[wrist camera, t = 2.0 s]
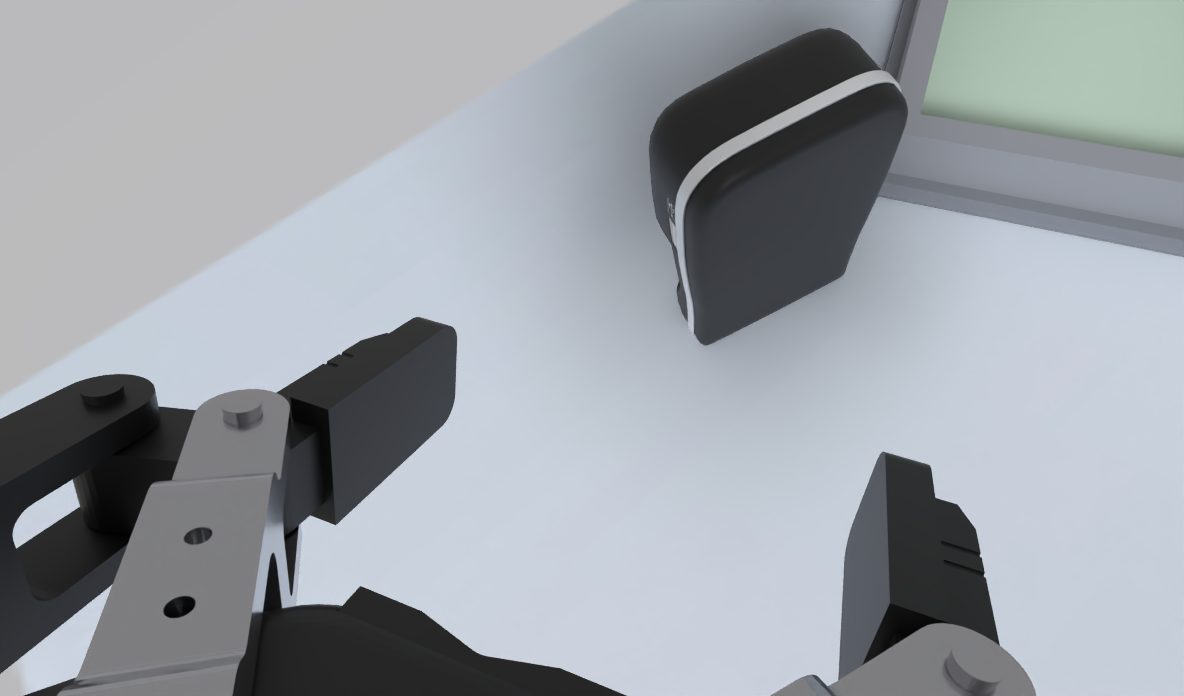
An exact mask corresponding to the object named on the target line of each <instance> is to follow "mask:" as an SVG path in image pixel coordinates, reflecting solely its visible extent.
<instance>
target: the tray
mask: <svg viewBox="0 0 1184 696" xmlns="http://www.w3.org/2000/svg"><path fill="white" fill-rule="evenodd" d="M885 71H887V72H888V73H889V74H890V75H891V76H892V77H893V78H894V79H895V80H896V81H897V83H898V84H899V85H900V87H901V92H902V94H903V96H904V98H905V99H906V103H907V106H908V117H907V121H906V126H905V129H904V131H903V134H902V137H901V140H900V142H899V145H898V148H897V150H896V153H895V156H894V158H893V161H892V163H891V166H890V168H889V171H888V173H887V175H886V178H885V180H884V183H883V185H882V187H881V189H880V192H879V194H878V196H881V197H886V198H891V199H896V200H901V201H906V202H911V203H916V204H921V205H926V206H931V207H936V208H941V209H946V210H951V211H956V212H961V213H966V214H971V215H976V216H981V217H986V218H991V219H996V220H1001V221H1006V222H1011V223H1016V224H1021V225H1026V226H1031V227H1036V228H1041V229H1046V230H1052V231H1057V232H1062V233H1067V234H1072V235H1077V236H1082V237H1087V238H1092V239H1097V240H1102V241H1107V242H1112V243H1117V244H1122V245H1127V246H1132V247H1137V248H1142V249H1147V250H1152V251H1157V252H1162V253H1167V254H1172V255H1177V256H1182V257H1184V0H904V3H903V7H902V10H901V14H900V18H899V21H898V25H897V29H896V32H895V36H894V40H893V44H892V47H891V51H890V55H889V58H888V62H887V66H886V69H885Z"/></svg>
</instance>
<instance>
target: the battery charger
mask: <svg viewBox="0 0 1184 696" xmlns="http://www.w3.org/2000/svg"><path fill="white" fill-rule="evenodd" d="M907 117H908V106H907V103H906V99H905V98H904V96H903V94H902V92H901V87H900V85H899V84H898V83H897V81H896V80H895V79H894V78H893V77H892V76H891V75H890V74H889V73H888V72H887V71H882V70H881V69H880V68H879V67H878V66H877V64H876V63H875V62H874V61H873V60H872V59H871V58H870V56H869V55H868V54H867V53H866V52H865V51H864V50H863V48H862V47H861V46H860V45H859V44H858V43H857V42H856V41H855V40H853V39H852V38H851V37H850V36H849V35H847V34H845V33H843V32H841V31H839V30H835V29H831V28H827V29H818V30H815V31H811V32H808V33H806V34H803V35H801V36H798V37H796V38H794V39H792V40H790V41H788V42H786V43H784V44H782V45H780V46H778V47H776V48H774V49H772V50H769V51H767V52H765V53H763V54H761V55H759V56H757V57H755V58H753V59H751V60H749V61H747V62H745V63H743V64H741V65H739V66H737V67H735V68H733V69H732V70H730V71H728V72H726V73H724V74H722V75H720V76H718V77H716V78H714V79H713V80H711V81H709V82H707V83H705V84H703V85H701V86H699V87H697V88H695V89H694V90H692V91H690V92H688V93H686V94H685V95H683V96H681V97H680V98H678V99H676V100H675V101H674V102H673V103H672V104H670V105H669V106H668V107H667V108H666V109H665V110H664V111H663V112H662V114H661V115H660V116H659V118H658V119H657V122H656V124H655V126H654V129H653V131H652V133H651V136H650V145H649V157H650V172H651V183H652V193H653V201H654V207H655V213H656V218H657V220H658V222H659V224H660V226H661V228H662V230H663V232H664V233H665V235H666V237H667V238H668V240H669V242H670V243H671V245H672V249H673V254H674V259H675V264H676V268H677V272H678V276H679V280H680V281H679V283H678V286H677V296H678V302H679V305H680V308H681V311H682V314H683V315H684V317H685V319H686V320H687V322H688V328H689V330H690V331H691V333H692V335H693V336H696V337H697V339H698V340H699V342H700V343H701V344H703V345H709V344H712V343H714V342H716V341H718V340H720V339H722V338H724V337H726V336H728V335H730V334H732V333H734V332H736V331H738V330H740V329H742V328H744V327H746V326H747V325H749V324H751V323H753V322H755V321H757V320H759V319H761V318H763V317H765V316H767V315H769V314H771V313H773V312H775V311H777V310H779V309H781V308H783V307H785V306H786V305H788V304H790V303H792V302H794V301H796V300H798V299H800V298H802V297H804V296H806V295H808V294H810V293H811V292H813V291H815V290H817V289H819V288H821V287H823V286H825V285H827V284H829V283H830V282H832V281H834V280H836V279H838V278H840V277H841V276H842V275H843V274H844V273H845V270H846V267H847V264H848V262H849V259H850V256H851V254H852V251H853V249H854V246H855V243H856V241H857V239H858V236H859V234H860V232H861V230H862V228H863V226H864V224H865V222H866V220H867V218H868V215H869V213H870V211H871V209H872V207H873V205H874V203H875V200H876V198H877V196H878V194H879V192H880V189H881V187H882V185H883V183H884V180H885V178H886V175H887V173H888V171H889V168H890V166H891V163H892V161H893V158H894V156H895V153H896V150H897V148H898V145H899V142H900V140H901V137H902V134H903V131H904V129H905V126H906V121H907Z"/></svg>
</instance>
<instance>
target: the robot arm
mask: <svg viewBox="0 0 1184 696" xmlns="http://www.w3.org/2000/svg"><path fill="white" fill-rule="evenodd" d="M456 355H457V335H456V331H455V329H454V328H453V327H451V326H448V325H445V324H441V323H438V322H434V321H431V320H427V319H424V318H421V317H415V318H413V319H411V320H410V321H408V322H406V323H405V324H403V325H402V326H400V327H399V328H397V329H395V330H394V331H392V332H391V333H389V334H388V333H385V334H381V335H378V336H375V337H371V338H368V339H364V340H361V341H359V342H358V343H356V344H355V345H353V346H351V347H350V348H348V349H347V350H345V351H343V352H342V355H340V354H338V355H337V356H335V357H334V358H332V359H330V360H329V361H327V364H322V365H321V366H319V367H317V368H316V369H314V370H313V371H311V372H309V373H308V374H306V375H304V376H303V377H301V378H300V379H298V380H296V381H295V382H293V383H291V384H290V385H288V386H287V387H285V388H283V389H282V390H280V391H278V392H277V393H274V392H271V391H267V390H258V389H246V390H237V391H232V392H228V393H224V394H221V395H218V396H216V397H214V398H211V399H209V400H208V401H206V402H204V403H203V404H202V405H201V406H200V407H199V408H198V409H197V410H187V409H178V408H168V407H158V402H157V397H156V392H155V388H154V385H153V384H152V383H151V382H150V381H149V380H147V379H145V378H143V377H140V376H135V375H127V374H113V375H103V376H98V377H93V378H89V379H85V380H82V381H79V382H76V383H74V384H71V385H69V386H67V387H65V388H63V389H61V390H59V391H57V392H55V393H53V394H51V395H49V396H47V397H45V398H43V399H40V400H38V401H36V402H34V403H32V404H30V405H28V406H26V407H24V408H22V409H20V410H18V411H16V412H14V413H12V414H10V415H8V416H6V417H4V418H2V419H0V674H1V672H3V671H4V670H6V669H7V668H8V667H9V666H11V665H12V664H13V663H14V662H16V661H17V660H18V659H19V658H21V657H22V656H23V655H24V654H26V653H27V652H28V651H29V650H31V649H32V648H33V647H34V646H36V645H37V644H38V643H39V642H41V641H42V640H43V639H44V638H46V637H47V636H48V635H49V634H51V633H52V632H53V631H54V630H56V629H57V628H58V627H59V626H61V625H62V624H63V623H64V622H66V621H67V620H68V619H69V618H71V617H72V616H73V615H74V614H76V613H77V612H78V611H80V610H81V609H82V608H83V607H85V606H86V605H87V604H88V603H90V602H91V601H92V600H93V599H95V598H96V597H97V596H98V595H100V594H101V593H102V592H103V591H105V590H106V589H107V588H108V587H110V586H111V585H112V584H113V585H112V588H111V590H110V593H109V596H108V598H107V601H106V604H105V606H104V609H103V612H102V614H101V617H100V619H99V622H98V625H97V627H96V630H95V633H94V635H93V638H92V641H91V643H90V646H89V649H88V651H87V654H86V657H85V659H84V662H83V665H82V667H81V670H80V672H79V674H78V676H77V677H76V678H73V679H71V680H68V681H65V682H62V683H59V684H56V685H53V686H50V687H47V688H45V689H42V690H39V691H36V692H33V693H30V694H27V695H24V696H626V695H624V694H621V693H619V692H616V691H614V690H611V689H609V688H607V687H604V686H602V685H599V684H597V683H594V682H592V681H590V680H587V679H585V678H582V677H580V676H577V675H575V674H573V673H570V672H568V671H565V670H563V669H560V668H555V667H549V666H542V665H536V664H530V663H524V662H518V661H512V660H506V659H500V658H493V657H487V656H483V655H480V654H478V653H476V652H475V651H473V650H472V649H470V648H469V647H468V646H466V645H465V644H464V643H462V642H461V641H460V640H459V639H457V638H456V637H455V636H453V635H452V634H451V633H449V632H448V631H447V630H445V629H444V628H443V627H442V626H440V625H439V624H438V623H436V622H435V621H434V620H432V619H431V618H430V617H428V616H427V615H426V614H425V613H423V612H422V611H420V610H417V609H415V608H412V607H410V606H407V605H405V604H403V603H400V602H398V601H395V600H393V599H390V598H388V597H386V596H383V595H381V594H378V593H376V592H373V591H371V590H369V589H366V588H364V587H361V586H360V587H359V588H358V589H357V590H356V592H355V593H354V594H353V595H352V596H351V597H350V598H349V599H348V600H347V601H346V603H345V604H344V605H343V606H339V605H323V604H315V605H300V606H296V602H297V590H298V578H299V566H300V554H301V542H302V531H301V523H302V522H303V521H304V520H305V519H306V518H307V517H309V516H310V515H311V516H314V517H316V518H319V519H321V520H324V521H326V522H329V523H332V524H334V525H336V524H338V523H339V522H340V521H341V520H342V519H343V518H344V517H345V516H346V515H347V514H348V513H349V512H350V511H352V510H353V509H354V508H355V507H356V506H357V505H358V504H359V503H360V502H361V501H362V500H363V499H364V498H365V497H367V496H368V495H369V494H370V493H371V492H372V491H373V490H374V489H375V488H376V487H377V486H378V485H379V484H380V483H382V482H383V481H384V480H385V479H386V478H387V477H388V476H389V475H390V474H391V473H392V472H393V471H394V470H395V469H397V468H398V467H399V466H400V465H401V464H402V463H403V462H404V461H405V460H406V459H407V458H408V457H409V456H410V455H412V454H413V453H414V452H415V451H416V450H417V449H418V448H419V447H420V446H421V445H422V444H423V443H424V442H425V441H427V440H428V439H429V438H430V437H431V436H432V435H433V434H434V433H435V432H436V431H437V430H438V429H439V428H440V427H442V425H443V424H444V423H445V422H446V420H447V419H448V417H449V415H450V413H451V410H452V407H453V404H454V399H455V383H456ZM72 479H73V483H74V486H75V490H76V493H77V497H78V500H79V504H80V507H79V508H77V509H76V510H74V511H73V512H71V513H70V514H68V515H67V516H65V517H64V518H62V519H61V520H59V521H58V522H56V523H55V524H53V525H51V526H50V527H48V528H47V529H45V530H44V531H42V532H41V533H39V534H38V535H36V536H35V537H33V538H32V539H30V540H29V541H27V542H26V543H24V544H23V545H21V546H20V547H18V548H17V549H16V547H15V545H14V542H13V537H12V533H13V528H14V525H15V523H16V521H17V519H18V518H19V516H20V515H21V514H22V513H23V511H24V510H25V509H27V508H28V507H29V506H30V505H32V504H33V503H35V502H36V501H38V500H40V499H41V498H43V497H45V496H46V495H48V494H49V493H51V492H53V491H54V490H56V489H58V488H59V487H61V486H62V485H64V484H66V483H67V482H69V481H71V480H72ZM984 573H985V572H984V567H983V562H982V558H981V557H980V548H979V543H978V538H977V533H976V529H975V528H974V526H973V525H972V524H971V522H970V521H969V520H968V518H967V517H966V516H965V514H964V513H963V512H962V510H961V509H960V507H959V506H958V505H957V504H953V503H950V502H947V501H943V500H940V499H937V498H935V493H934V486H933V478H932V471H931V467H930V465H928V464H924V463H921V462H917V461H914V460H910V459H907V458H903V457H900V456H896V455H893V454H889V453H886V452H882V453H881V454H880V456H879V458H878V460H877V462H876V464H875V467H874V470H873V472H872V475H871V477H870V480H869V483H868V485H867V488H866V490H865V493H864V496H863V498H862V501H861V503H860V506H859V509H858V511H857V514H856V516H855V519H854V522H853V524H852V527H851V531H850V534H849V538H848V542H847V547H846V552H845V561H844V580H843V600H842V619H841V639H840V659H839V679H838V681H837V682H835V683H833V684H832V685H830V686H826V685H825V684H824V683H823V681H822V680H821V679H820V678H819V677H818V676H816V675H807V676H804V677H802V678H800V679H798V680H796V681H794V682H793V683H791V684H789V685H788V686H786V687H784V688H783V689H781V690H779V691H778V692H776V693H774V694H773V695H771V696H1036V693H1035V689H1034V687H1033V684H1032V682H1031V680H1030V678H1029V677H1028V675H1027V673H1026V672H1025V671H1024V669H1023V668H1022V667H1021V665H1020V664H1019V663H1018V662H1017V661H1016V660H1015V659H1014V658H1013V657H1012V656H1011V655H1010V654H1009V653H1008V652H1007V651H1006V650H1004V649H1003V648H1002V647H1000V645H999V640H998V635H997V630H996V625H995V620H994V616H993V611H992V606H991V601H990V596H989V591H988V587H987V582H986V578H985V577H984Z"/></svg>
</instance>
